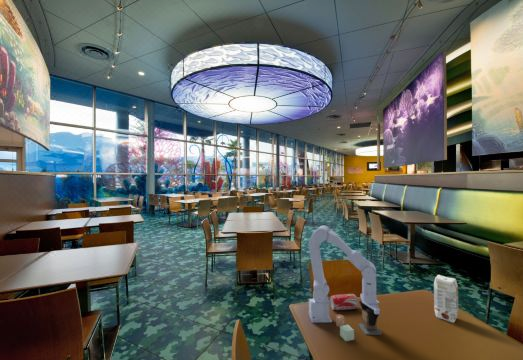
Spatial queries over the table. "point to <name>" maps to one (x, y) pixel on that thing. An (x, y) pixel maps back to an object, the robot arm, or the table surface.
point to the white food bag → (446, 298)
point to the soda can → (344, 302)
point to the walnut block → (367, 321)
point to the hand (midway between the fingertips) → (369, 321)
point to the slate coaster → (370, 330)
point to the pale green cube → (346, 332)
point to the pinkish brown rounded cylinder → (339, 320)
